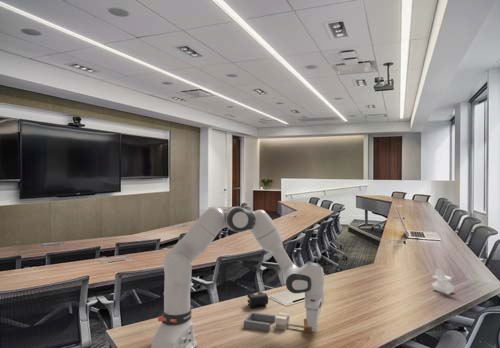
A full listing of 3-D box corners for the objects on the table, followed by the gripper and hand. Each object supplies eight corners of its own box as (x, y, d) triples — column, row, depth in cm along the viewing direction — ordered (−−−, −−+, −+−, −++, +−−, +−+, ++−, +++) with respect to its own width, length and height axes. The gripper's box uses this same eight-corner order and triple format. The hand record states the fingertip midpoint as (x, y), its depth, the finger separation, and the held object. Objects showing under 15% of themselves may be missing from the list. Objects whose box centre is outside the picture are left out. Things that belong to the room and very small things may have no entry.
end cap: (251, 309, 178) (251, 297, 178) (246, 305, 184) (246, 292, 184) (268, 307, 181) (268, 294, 181) (263, 302, 188) (263, 290, 188)
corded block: (311, 334, 150) (311, 323, 150) (275, 327, 156) (275, 317, 156) (314, 329, 155) (314, 318, 155) (279, 322, 162) (279, 312, 162)
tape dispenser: (437, 286, 212) (437, 265, 212) (458, 293, 199) (458, 271, 199) (428, 288, 209) (427, 266, 209) (448, 295, 196) (448, 272, 196)
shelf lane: (269, 331, 153) (269, 324, 153) (244, 327, 157) (243, 321, 157) (275, 321, 164) (275, 315, 164) (251, 317, 168) (251, 311, 168)
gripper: (310, 290, 163) (311, 318, 163) (304, 305, 144) (304, 337, 144) (323, 291, 161) (324, 319, 161) (318, 307, 142) (319, 340, 142)
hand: (314, 328), depth 152 cm, fingers open, 3 cm apart
